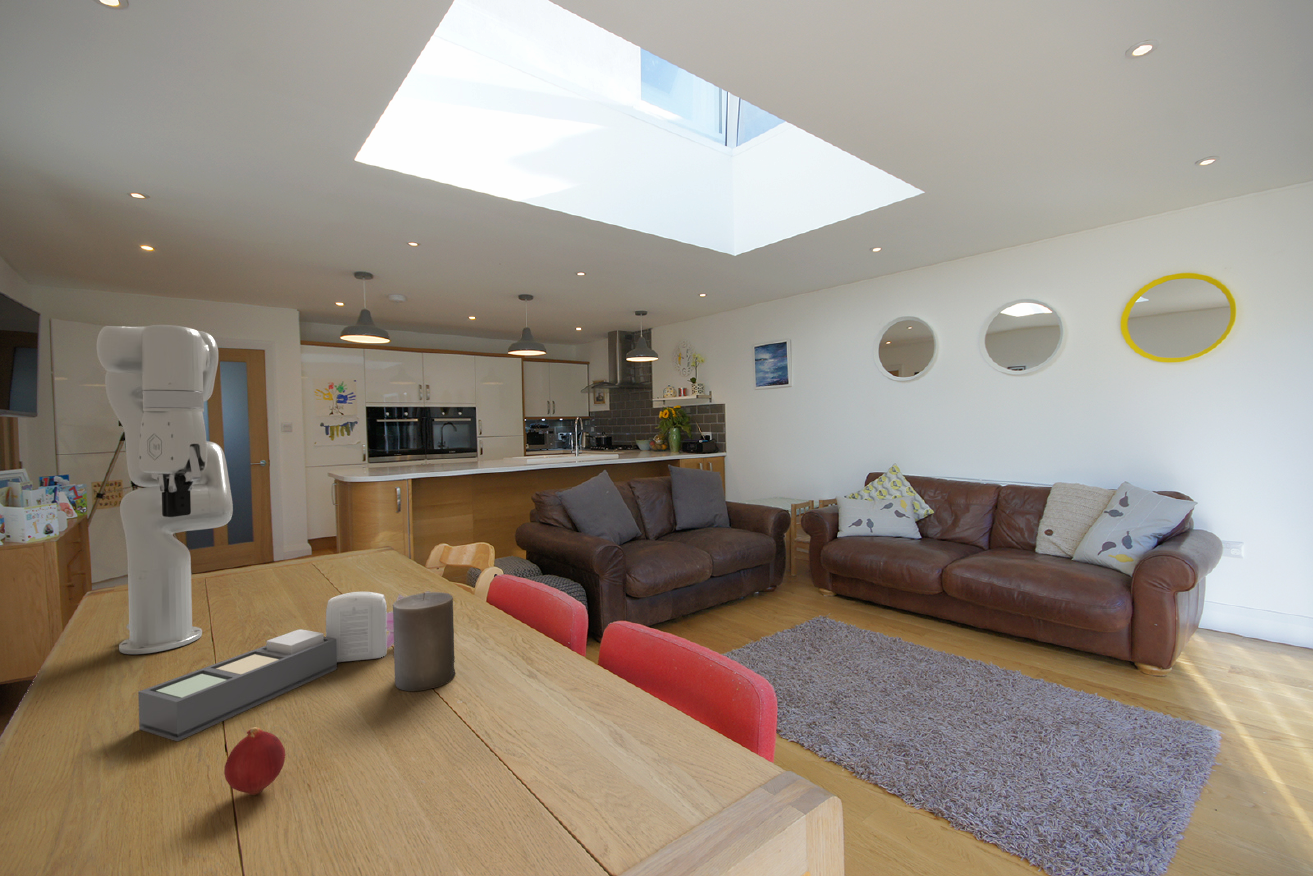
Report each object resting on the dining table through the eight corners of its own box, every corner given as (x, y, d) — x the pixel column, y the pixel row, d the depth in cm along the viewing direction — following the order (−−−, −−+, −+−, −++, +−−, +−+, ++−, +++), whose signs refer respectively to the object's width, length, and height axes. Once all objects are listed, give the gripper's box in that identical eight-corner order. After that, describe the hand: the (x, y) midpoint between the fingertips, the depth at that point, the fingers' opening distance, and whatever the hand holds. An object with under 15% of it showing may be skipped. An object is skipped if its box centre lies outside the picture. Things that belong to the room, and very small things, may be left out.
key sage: (156, 718, 82) (155, 690, 82) (202, 699, 88) (201, 673, 88) (182, 725, 80) (181, 697, 80) (227, 706, 86) (227, 679, 86)
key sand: (216, 693, 90) (215, 668, 90) (255, 677, 95) (254, 654, 95) (241, 700, 88) (241, 674, 87) (279, 683, 93) (279, 659, 93)
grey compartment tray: (139, 729, 82) (138, 691, 81) (302, 662, 105) (301, 632, 104) (177, 741, 78) (176, 702, 78) (336, 669, 101) (336, 638, 101)
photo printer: (389, 650, 110) (388, 587, 110) (385, 659, 106) (384, 593, 106) (329, 656, 107) (328, 591, 107) (323, 666, 103) (322, 598, 103)
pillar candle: (467, 672, 100) (465, 587, 100) (423, 696, 91) (421, 603, 91) (426, 664, 104) (424, 582, 104) (380, 686, 95) (378, 596, 95)
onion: (246, 779, 70) (244, 715, 70) (295, 776, 70) (294, 713, 70) (213, 811, 64) (212, 741, 64) (267, 808, 64) (265, 739, 64)
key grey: (266, 664, 97) (266, 640, 97) (300, 651, 103) (299, 629, 103) (291, 669, 95) (290, 645, 95) (323, 655, 101) (323, 633, 100)
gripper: (118, 403, 91) (121, 516, 92) (176, 401, 86) (179, 522, 86) (172, 404, 98) (174, 510, 99) (229, 403, 93) (231, 514, 93)
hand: (176, 515), depth 92 cm, fingers closed
